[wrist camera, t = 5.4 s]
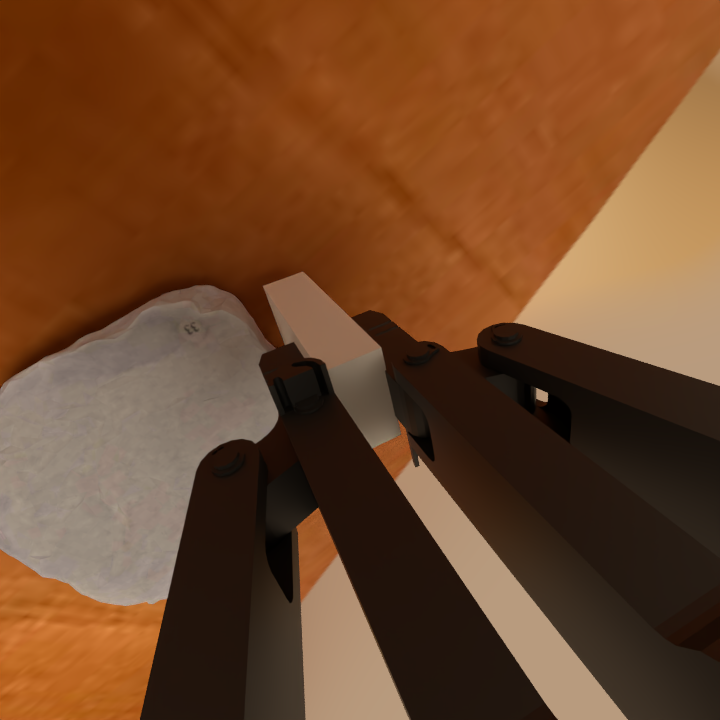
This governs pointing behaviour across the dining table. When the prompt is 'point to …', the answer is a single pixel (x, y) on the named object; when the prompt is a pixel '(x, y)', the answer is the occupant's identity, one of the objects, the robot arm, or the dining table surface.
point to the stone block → (126, 440)
